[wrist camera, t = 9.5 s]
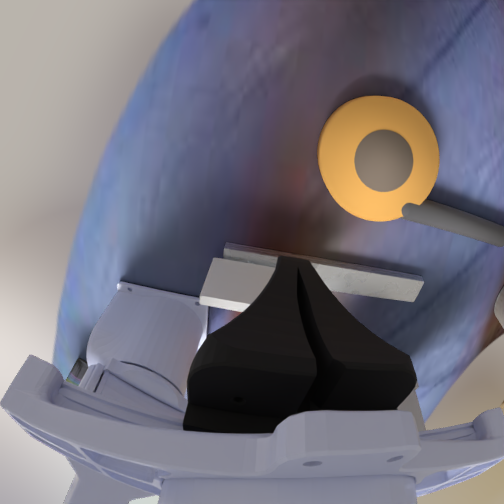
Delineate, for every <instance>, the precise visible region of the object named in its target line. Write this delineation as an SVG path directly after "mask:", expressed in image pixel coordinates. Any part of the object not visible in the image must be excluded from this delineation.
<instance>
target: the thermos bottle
mask: <svg viewBox="0 0 504 504" xmlns="http://www.w3.org/2000/svg"><path fill="white" fill-rule="evenodd" d="M494 312H495V316H496V317H497V319H498V320H499V322H500V323H501V325H502V327H503V328H504V286H503V288H502V290H501V291H500V293H499V295H498V297H497V299H496V302H495V306H494Z"/></svg>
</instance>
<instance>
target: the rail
mask: <svg viewBox="0 0 504 504" xmlns="http://www.w3.org/2000/svg"><path fill="white" fill-rule="evenodd" d="M281 255H282V256H288V257H294V258H300V259H306V260H309V261H310V262H311V264H312V265H313V267H314V268H315V270H316V271H317V273H318V274H319V276H320V277H321V279H322V280H323V282H324V283H325V284H326V286H327V287H328V288H329V290H330V291H336V292H343V293H350V294H357V295H364V296H371V297H378V298H386V299H393V300H401V301H409V302H414V301H415V299H416V297H417V295H418V293H419V292H420V290H421V288H422V286H423V284H424V280H423V278H422V277H421V276H420V275H415V274H409V273H403V272H398V271H392V270H386V269H381V268H375V267H369V266H363V265H358V264H352V263H346V262H340V261H334V260H329V259H323V258H317V257H311V256H305V255H299V254H293V253H288V252H282V251H276V250H270V249H264V248H258V247H252V246H246V245H240V244H234V243H228V242H226V244H225V247H224V254H223V259H227V260H232V261H238V262H244V263H250V264H256V265H262V266H268V267H274V268H275V267H276V263H277V258H278V257H279V256H281Z"/></svg>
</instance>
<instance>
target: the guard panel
mask: <svg viewBox="0 0 504 504" xmlns="http://www.w3.org/2000/svg"><path fill="white" fill-rule="evenodd" d="M274 271H275V268H274V267H268V266H262V265H256V264H250V263H244V262H238V261H232V260H227V259H221V258H215V257H214V258H213V261H212V263H211V266H210V269H209V271H208V274H207V277H206V280H205V282H204V285H203V288H202V291H201V293H200V303H199V304H201V305H207V306H212V307H217V308H223V309H229V310H234V311H240V312H243V311H244V310H245V309H246V308H247V307H248V306H249V305H250V304H251V303H252V302H253V301H254V300H255V299H256V298H257V297H258V296H259V294H260V293H261V292H262V290H263V289H264V288H265V286H266V285H267V283H268V282H269V280H270V278H271V276H272V274H273V273H274Z"/></svg>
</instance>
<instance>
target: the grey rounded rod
mask: <svg viewBox="0 0 504 504" xmlns="http://www.w3.org/2000/svg"><path fill="white" fill-rule="evenodd" d="M401 211H402V215H403V217H400V218H401V219H405V220H409V221H413V222H416V223H420V224H424V225H428V226H431V227H435V228H439V229H442V230H446V231H449V232H453V233H456V234H460V235H463V236H466V237H470V238H473V239H476V240H480V241H483V242H486V243H489V244H492V245H495V246H498V247H503V246H504V226H501V225H499V224H496V223H494V222H491V221H489V220H486V219H483V218H481V217H478V216H475V215H472V214H470V213H467V212H464V211H461V210H458V209H455V208H452V207H449V206H446V205H443V204H440V203H437V202H434V201H431V200H428V199H425V200H424V201H423V202H422V203H421V204H420V205H417V204H413V203H406V204H405V205H404V206H403V207H402V210H401Z"/></svg>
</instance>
